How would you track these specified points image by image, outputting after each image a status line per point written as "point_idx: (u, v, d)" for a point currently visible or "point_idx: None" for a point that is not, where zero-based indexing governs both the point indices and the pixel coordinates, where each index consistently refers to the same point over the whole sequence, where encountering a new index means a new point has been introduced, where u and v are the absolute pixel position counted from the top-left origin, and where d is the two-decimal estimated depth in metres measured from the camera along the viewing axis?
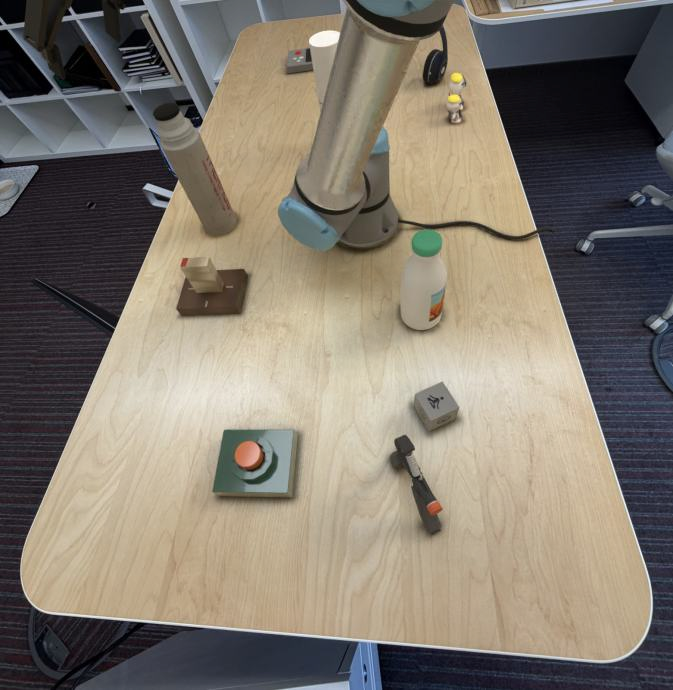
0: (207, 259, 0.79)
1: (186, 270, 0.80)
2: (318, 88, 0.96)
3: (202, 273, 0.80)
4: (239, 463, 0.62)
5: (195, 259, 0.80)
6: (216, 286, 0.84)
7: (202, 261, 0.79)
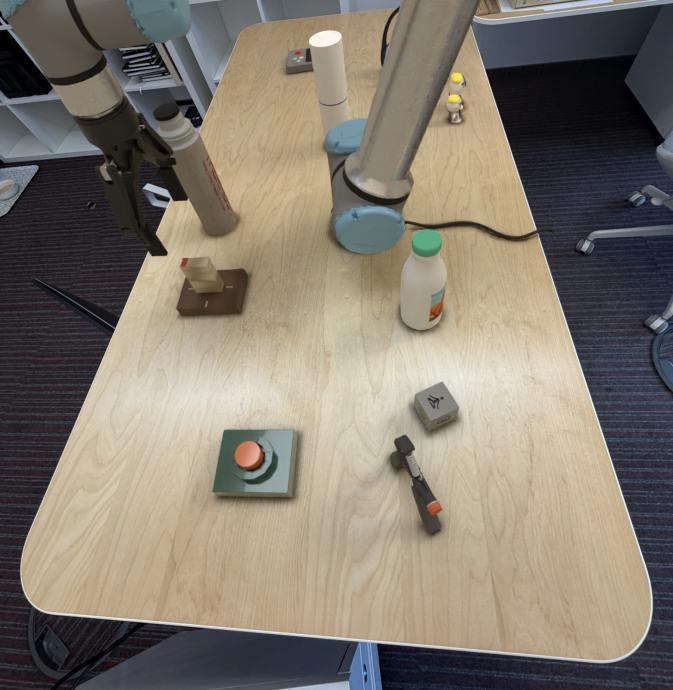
0: (207, 259, 0.79)
1: (186, 270, 0.80)
2: (318, 88, 0.96)
3: (202, 273, 0.80)
4: (239, 463, 0.62)
5: (195, 259, 0.80)
6: (216, 286, 0.84)
7: (202, 261, 0.79)
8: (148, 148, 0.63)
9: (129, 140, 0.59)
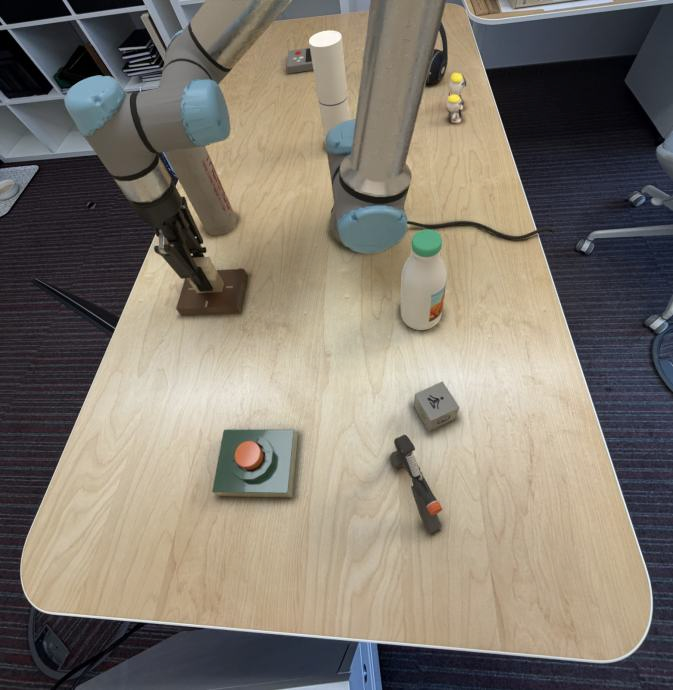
0: (207, 259, 0.79)
1: None
2: (318, 88, 0.96)
3: None
4: (239, 463, 0.62)
5: (195, 259, 0.80)
6: (217, 286, 0.84)
7: (202, 261, 0.79)
8: (186, 224, 0.73)
9: None
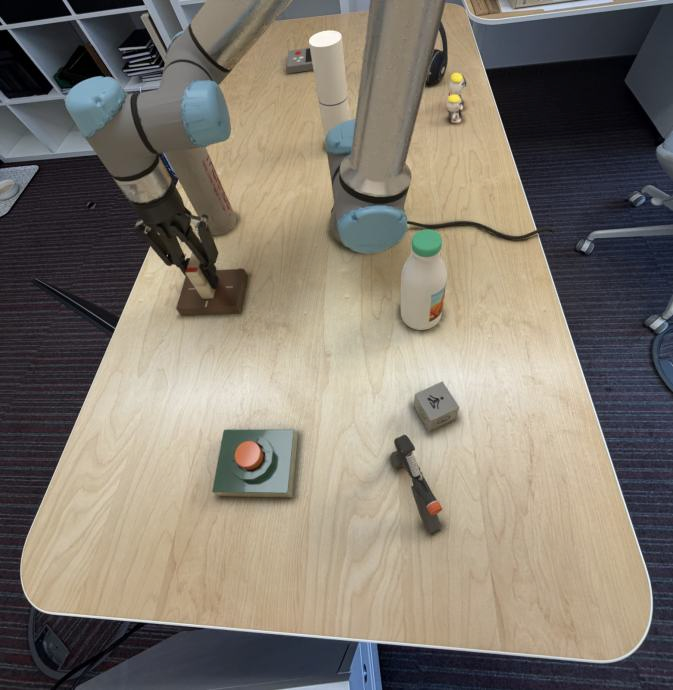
0: None
1: (200, 272, 0.79)
2: (318, 88, 0.96)
3: None
4: (239, 463, 0.62)
5: (191, 262, 0.79)
6: None
7: None
8: None
9: None
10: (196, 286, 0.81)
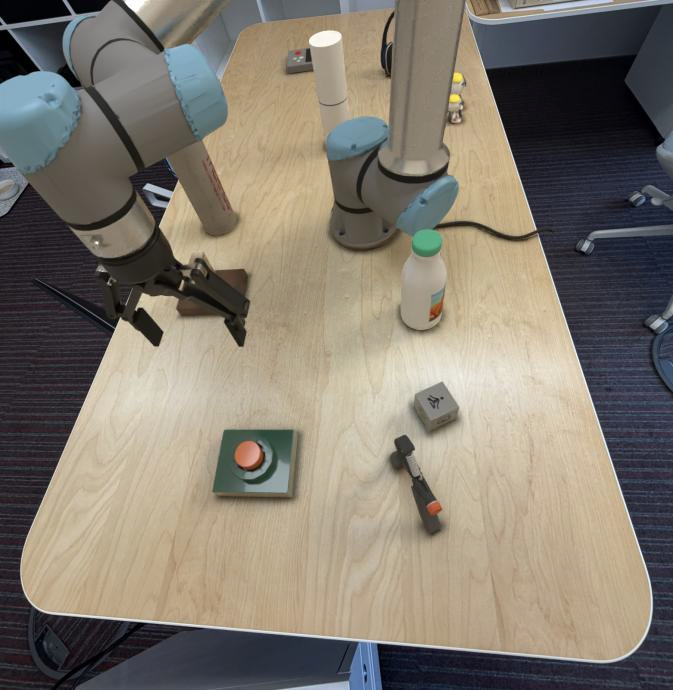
0: (195, 252, 0.81)
1: None
2: (318, 88, 0.96)
3: None
4: (239, 463, 0.62)
5: (191, 262, 0.79)
6: None
7: (196, 255, 0.80)
8: None
9: None
10: None
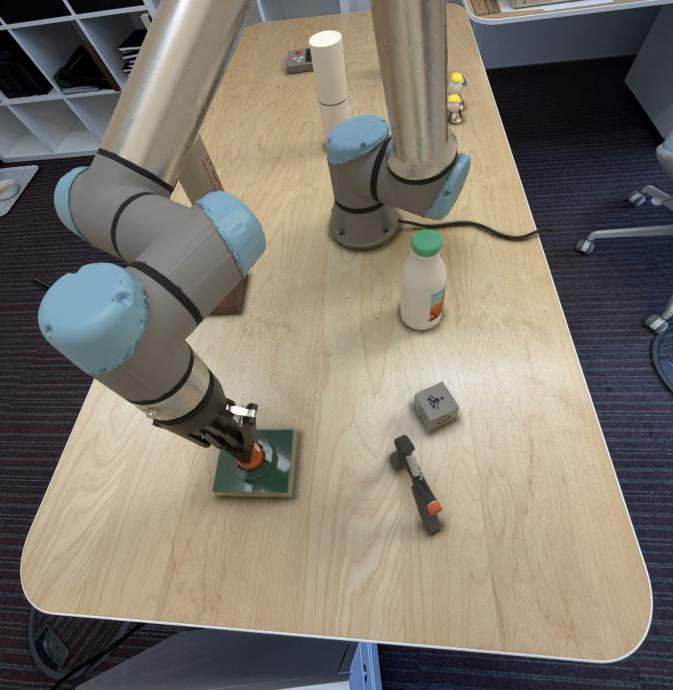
0: None
1: None
2: (318, 88, 0.96)
3: None
4: (240, 464, 0.62)
5: None
6: None
7: None
8: None
9: None
10: None
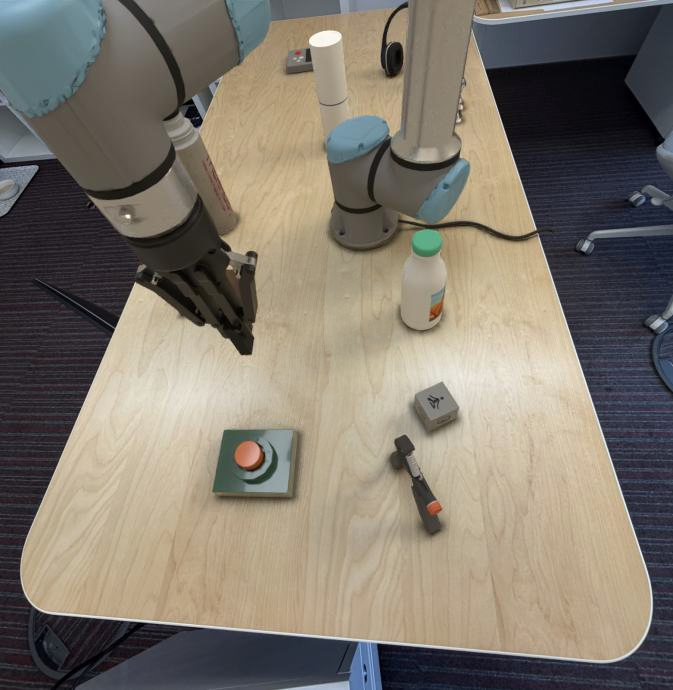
0: None
1: None
2: (318, 88, 0.96)
3: None
4: (239, 463, 0.62)
5: None
6: None
7: None
8: None
9: None
10: None
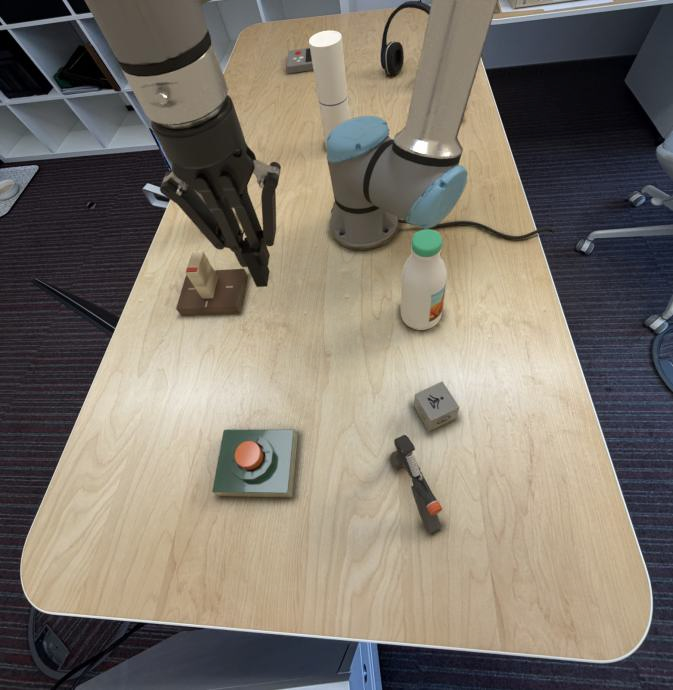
0: (195, 252, 0.81)
1: (200, 272, 0.79)
2: (318, 88, 0.96)
3: (205, 264, 0.81)
4: (239, 463, 0.62)
5: (191, 262, 0.79)
6: (215, 273, 0.86)
7: (196, 255, 0.80)
8: None
9: None
10: (196, 286, 0.81)
